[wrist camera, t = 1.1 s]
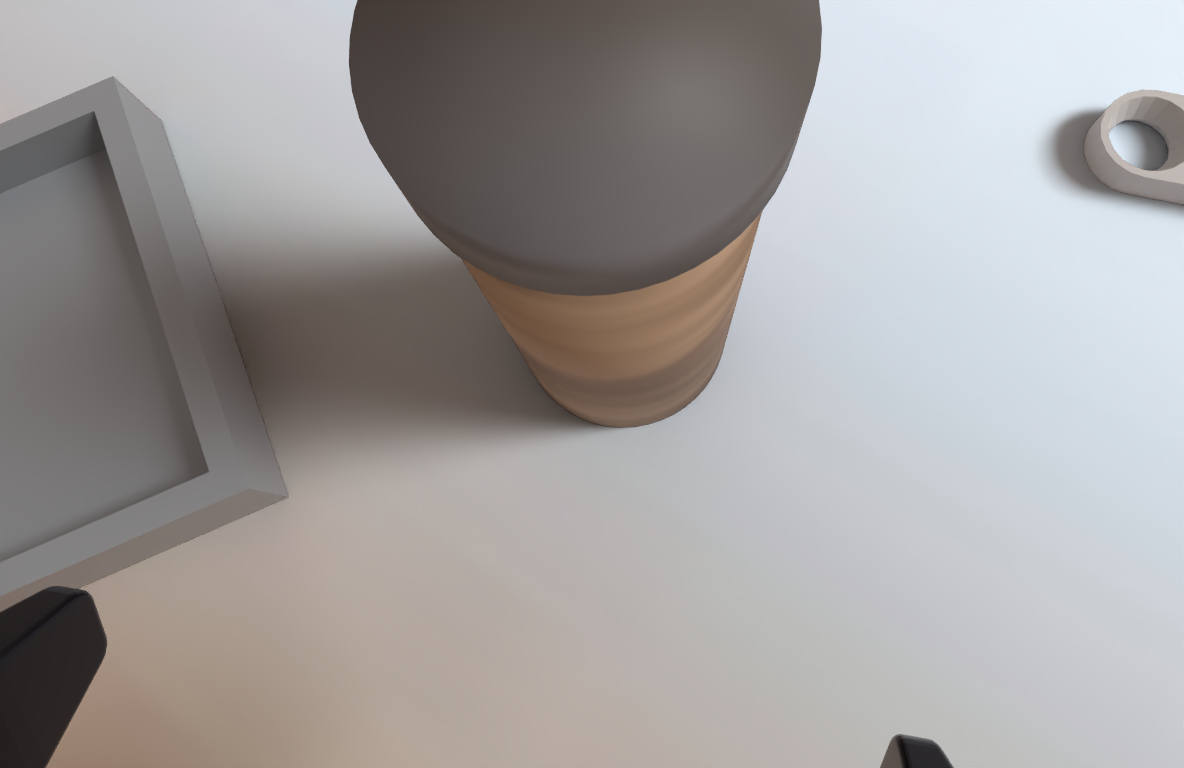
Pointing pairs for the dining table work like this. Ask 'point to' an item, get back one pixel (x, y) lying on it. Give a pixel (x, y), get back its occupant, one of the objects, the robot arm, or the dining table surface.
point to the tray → (112, 353)
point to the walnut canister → (593, 169)
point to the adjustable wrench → (1173, 182)
